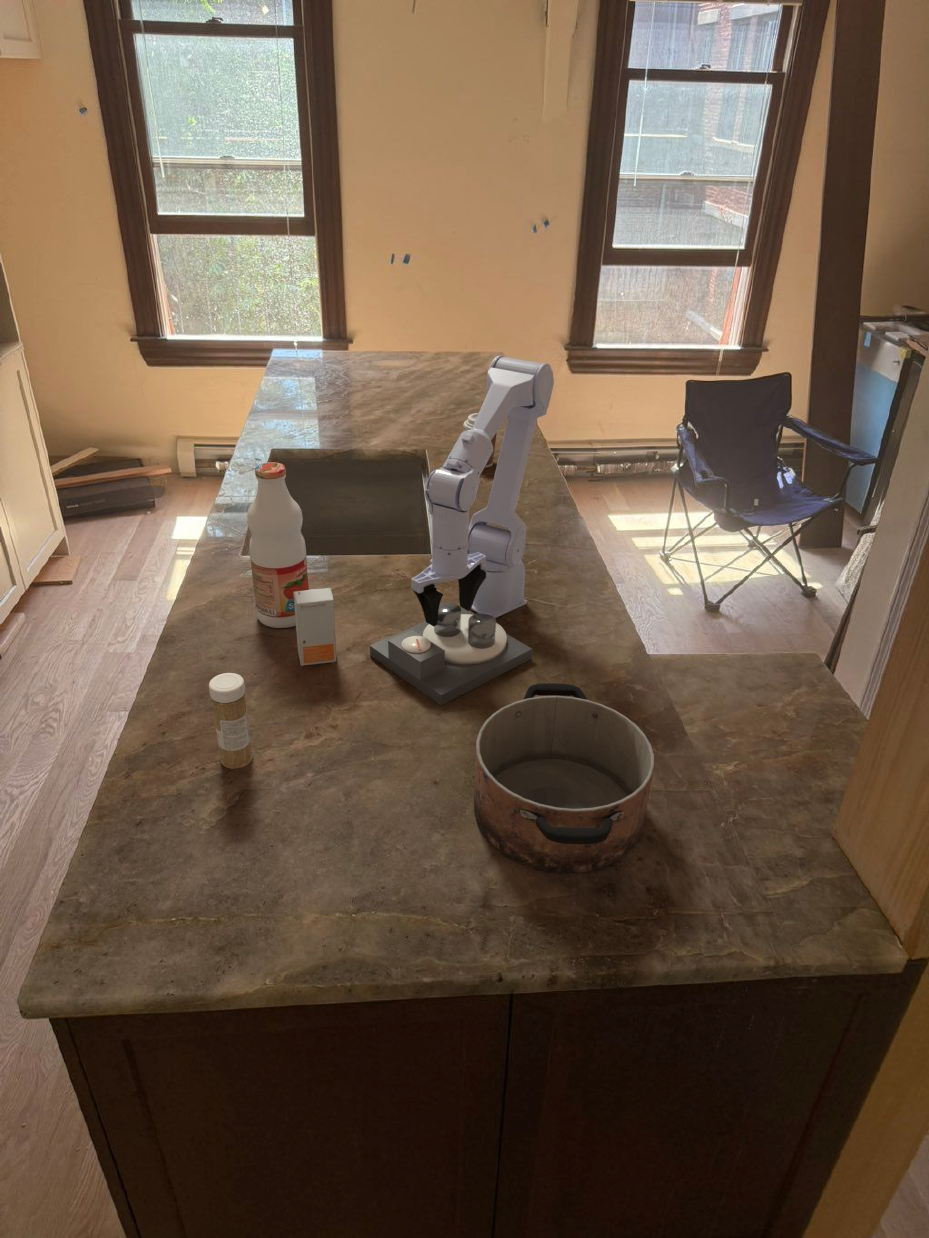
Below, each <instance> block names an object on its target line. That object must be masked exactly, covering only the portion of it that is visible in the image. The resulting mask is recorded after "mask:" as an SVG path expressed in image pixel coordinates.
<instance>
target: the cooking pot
mask: <svg viewBox="0 0 929 1238" xmlns="http://www.w3.org/2000/svg"><path fill="white" fill-rule="evenodd" d="M475 743H476V745H475V760H474V761H475V763H474V764H475V765H474V766H475V767H474V785H473V812H474V816H475V820H476V823H477V826H478V827H479V829H480V831H481V832H482V834H483V836H485V838H486V839H487V841H488V842H489V843H491V845H492V846H493V847H494V848H496V849H497V850H498V851H499V852H501V853H502V854H503V855H505V856H506V857H508V858H510V859H511V860H513V861H515V862H517V863H519V864H522V865H525V866H527V867H529V868H532V869H536V870H540V871H545V872H547V873H556V874H557V873H559V874H578V873H579V874H580V873H586V872H591V871H596V870H599V869H601V868H602V869H603V868H605V867H606V866H610V865H612V864H614V863H616V862H617V861H619V860H621V859H622V858H624V857H625V856H626V855H627V854H628V853H629V852H631V850H632V849H634V847H635V846H636V844H637V842H638V840H639V839H640V837H641V833H642V831H643V827H644V823H645V819H646V818H645V817H646V812H647V807H648V801H649V797H650V791H651V785H652V780H653V774H654V770H655V769H654V768H655V754H654V753H655V752H654V751H653V747H652V744H651V742H650V741H649V739H648V738H647V735H646V734H645V733H644V732H643V731H642V730H641V729H640V727H639V726H638V724H636V723H635V722H634V721H632V720H630V719H629V718H628V717H627V716H625V715H624V714H622V713H620V712H618V711H617V710H615V709H613V708H611V707H610V706H609V707H608V706H606V705H604V704H602V703H599V702H595V701H592V700H589V699H588V697H586V694H585V693H584V692H583V690H582V689H581V688H580V687H579V686H577V685H574V684H568V683H559V682H558V683H557V682H556V683H555V682H554V683H553V682H549V683H547V682H546V683H543V682H542V683H536V684H532V685H530V686H528V689H527V690H526V692H525V695H524V697H523V699H521V700H517V701H514V702H512V703H510V704H507V705H505V706H503V707H501V708H500V709H498V710H497V711H495V712H494V713H493V714H491V716H489V717H488V718H487V719H486V720H485V721H484V722H483V725H482V726H481V728H480V730H479V731H478V734H477V738H476V741H475Z"/></svg>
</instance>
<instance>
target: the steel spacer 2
mask: <svg viewBox="0 0 929 1238" xmlns="http://www.w3.org/2000/svg"><path fill="white" fill-rule="evenodd" d="M496 623H497V619H496V618H494V617H493V616H491V615H488V614H479V613H476V614H474V615H472V616H471V617H470V618H469V621H468V643H469V645H471V646H472V647H475V648H479V649H485V648H490V647H492V646H493V645H494V644H495V632H496Z"/></svg>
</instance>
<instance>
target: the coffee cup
mask: <svg viewBox="0 0 929 1238" xmlns="http://www.w3.org/2000/svg"><path fill="white" fill-rule="evenodd" d="M478 413H479V412H475V413H471V414H469V415H468V417H467V419H466V420H465V421H464V422H463V424H462V425H463V428H464V429H465V431H466V430H471V429H472V427H473V425H474V423H475V420H476V418H477V416H478ZM500 428H501V427H500ZM500 428H499V429H498V431H499V430H501V429H500ZM498 431H497V432H496V434H495V435H494V437H493V438H492V440H491V442H492V445H493V452H492V454H491V456H490V458H489V460H488V462H487V463H486V465H485V467H484V469H486V468H491V467H492V466H493V464H494V457H495V449H496V443H497V434H498Z"/></svg>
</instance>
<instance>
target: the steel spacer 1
mask: <svg viewBox="0 0 929 1238" xmlns="http://www.w3.org/2000/svg"><path fill="white" fill-rule="evenodd" d="M459 606H460V605H458V604H457V603H453V602H442V603H441V602H440V605H439V610H438V622H437V625H436V626H434V632H435V633H436V634H437V635H439V636H442V637H453V636H456V635H458V634H459V633H460V630H461V608H460V607H459Z"/></svg>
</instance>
